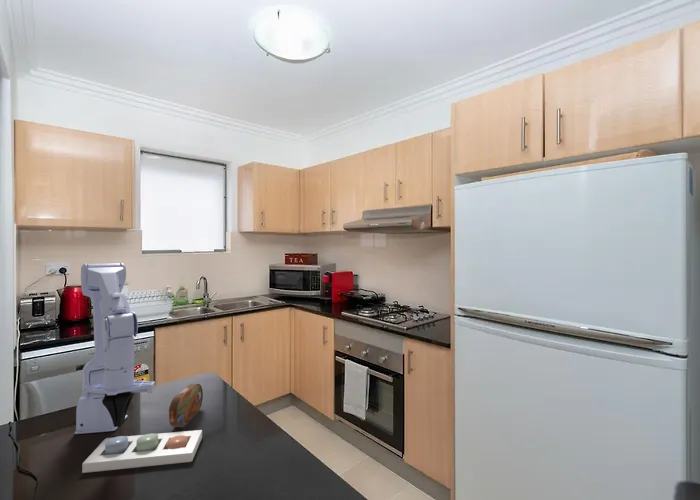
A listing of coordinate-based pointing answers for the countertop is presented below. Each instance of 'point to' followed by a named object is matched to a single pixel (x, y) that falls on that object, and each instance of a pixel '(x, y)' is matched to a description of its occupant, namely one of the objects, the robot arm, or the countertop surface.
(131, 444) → the button panel
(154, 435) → the sage button
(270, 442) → the countertop surface
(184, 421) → the tin
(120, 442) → the slate button
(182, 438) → the terracotta button
